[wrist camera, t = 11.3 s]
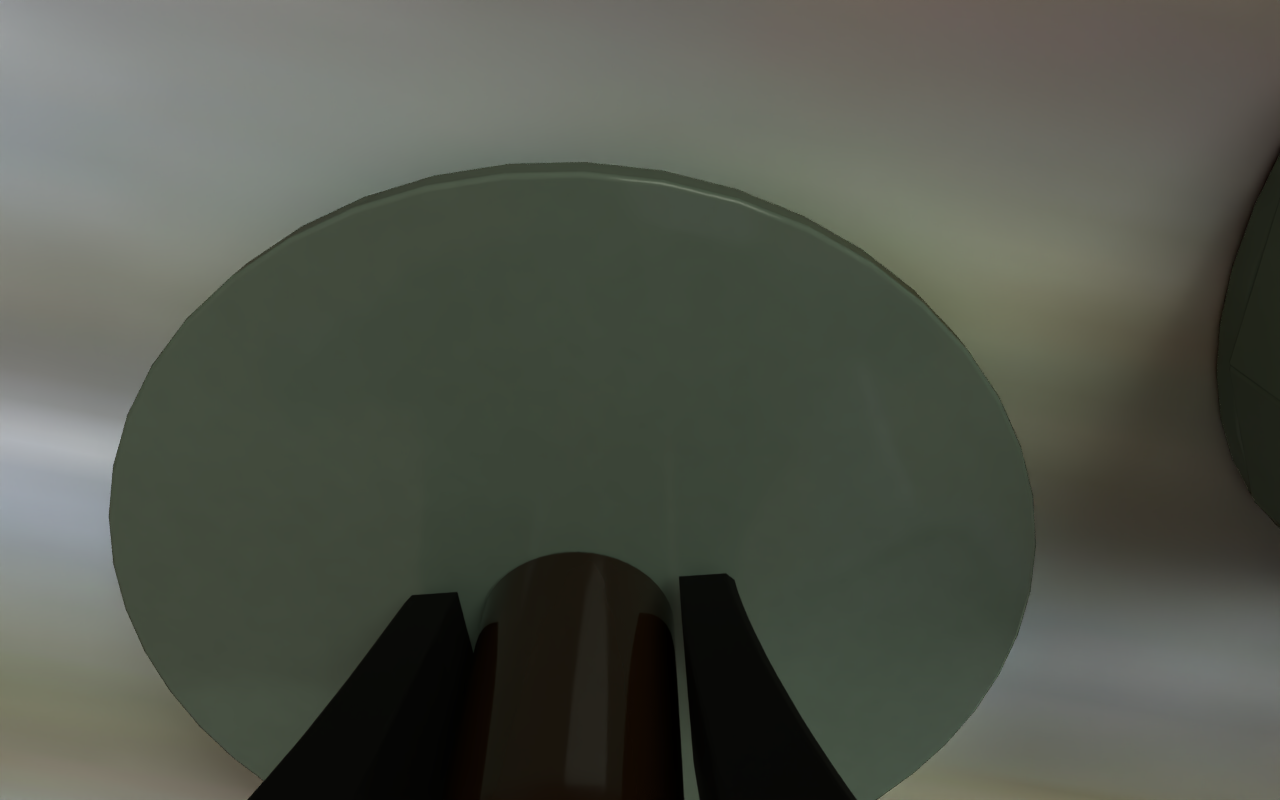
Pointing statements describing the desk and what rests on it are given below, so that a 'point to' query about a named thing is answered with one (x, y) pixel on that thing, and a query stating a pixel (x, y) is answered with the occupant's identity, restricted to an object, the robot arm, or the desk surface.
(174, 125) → the desk surface
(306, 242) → the lid
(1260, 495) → the bowl
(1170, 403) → the desk surface
